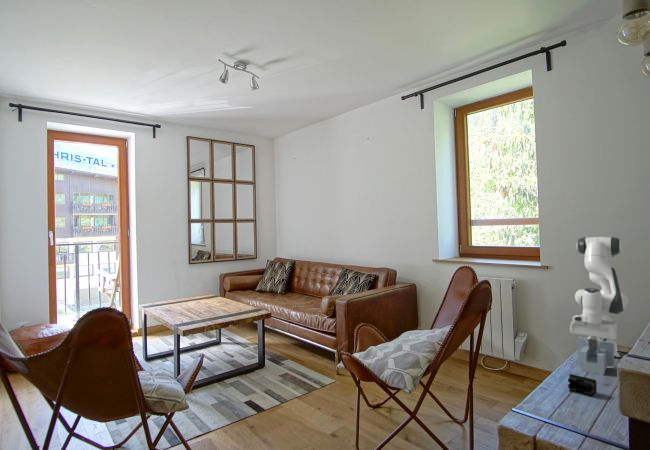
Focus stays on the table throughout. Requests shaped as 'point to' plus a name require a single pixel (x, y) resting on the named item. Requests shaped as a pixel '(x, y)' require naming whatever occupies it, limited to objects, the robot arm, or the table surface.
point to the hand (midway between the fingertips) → (593, 344)
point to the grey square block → (595, 356)
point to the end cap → (582, 385)
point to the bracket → (592, 344)
